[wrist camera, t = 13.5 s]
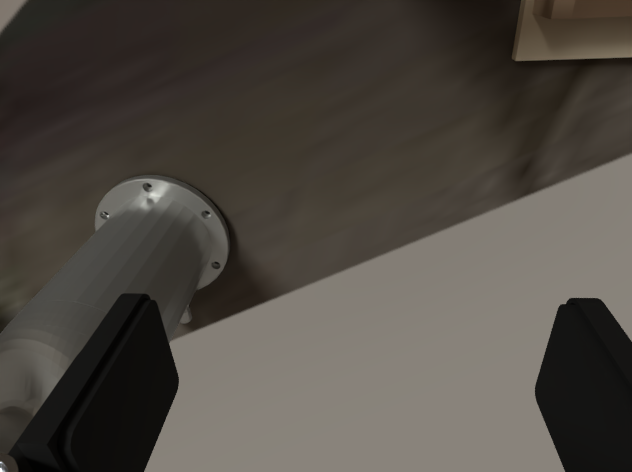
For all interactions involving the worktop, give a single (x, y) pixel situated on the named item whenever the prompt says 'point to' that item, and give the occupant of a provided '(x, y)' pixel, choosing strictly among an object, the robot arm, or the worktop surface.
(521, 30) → the tray
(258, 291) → the worktop surface
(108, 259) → the robot arm
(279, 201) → the worktop surface
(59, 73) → the worktop surface
